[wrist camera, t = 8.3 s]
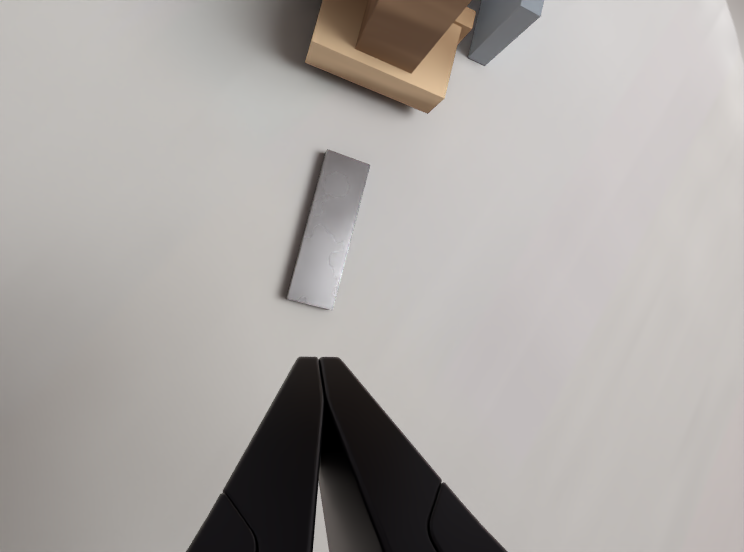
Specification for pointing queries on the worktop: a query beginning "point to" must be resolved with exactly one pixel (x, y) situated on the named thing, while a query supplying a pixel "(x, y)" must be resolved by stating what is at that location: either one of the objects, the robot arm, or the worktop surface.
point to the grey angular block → (501, 26)
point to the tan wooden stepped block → (392, 45)
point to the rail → (328, 231)
